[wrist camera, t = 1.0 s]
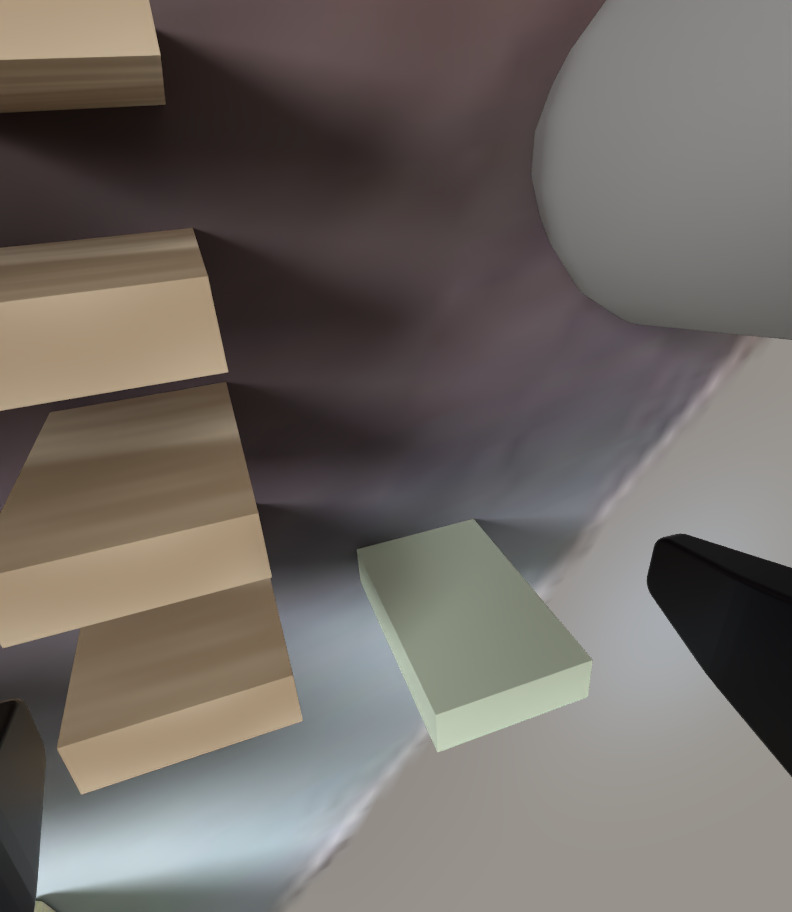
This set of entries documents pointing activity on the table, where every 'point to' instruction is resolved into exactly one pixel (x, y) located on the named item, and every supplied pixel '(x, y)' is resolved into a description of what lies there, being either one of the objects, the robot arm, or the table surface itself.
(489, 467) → the table surface
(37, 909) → the toy refrigerator
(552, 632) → the domino
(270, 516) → the table surface
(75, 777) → the domino
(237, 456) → the domino
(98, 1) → the domino
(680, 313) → the cup
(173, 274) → the domino
